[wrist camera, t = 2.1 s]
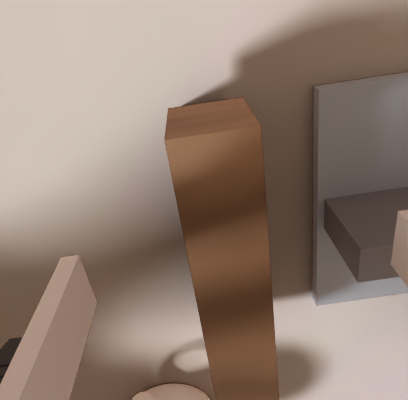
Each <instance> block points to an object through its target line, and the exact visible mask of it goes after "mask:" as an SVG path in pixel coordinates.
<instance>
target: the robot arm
mask: <svg viewBox="0 0 408 400" xmlns="http://www.w3.org/2000/svg"><path fill="white" fill-rule="evenodd" d="M391 266H392V267H393V268H394V270H395V271H396V272H397V274H398V275H399V276H400V278H401V279H402V280H403V282H404V283H405V284H406V286H407V287H408V210H402V211H398V214H397V222H396V229H395V236H394V243H393V250H392V258H391ZM96 306H97V301H96V298H95V295H94V293H93V290H92V288H91V285H90V282H89V280H88V277H87V274H86V272H85V269H84V266H83V264H82V261H81V258H80V256H79V255H73V256H66V257H61V258H60V260H59V262H58V264H57V267H56V269H55V271H54V273H53V275H52V277H51V279H50V281H49V283H48V285H47V287H46V290H45V292H44V294H43V296H42V298H41V300H40V302H39V304H38V306H37V308H36V311H35V313H34V315H33V317H32V319H31V321H30V323H29V325H28V327H27V329H26V331H25V334H24V336H23V337H20V338H13V339H9V340H8V341H7V342H6V344H5V345H4V346H3V347H2V348H1V349H0V400H70V396H71V393H72V389H73V386H74V382H75V379H76V376H77V372H78V369H79V365H80V362H81V358H82V355H83V351H84V348H85V344H86V341H87V338H88V334H89V331H90V327H91V324H92V320H93V317H94V313H95V310H96Z"/></svg>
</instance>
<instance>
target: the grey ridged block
mask: <svg viewBox="0 0 408 400" xmlns="http://www.w3.org/2000/svg"><path fill="white" fill-rule="evenodd" d="M402 210H408V72H403V73H397V74H390V75H384V76H377V77H370V78H364V79H357V80H351V81H344V82H338V83H331V84H324V85H318V86H314V135H313V299H314V301H315V304H316V306H318V305H325V304H332V303H339V302H346V301H353V300H360V299H367V298H374V297H381V296H388V295H395V294H402V293H408V287H407V286H406V284H405V283H404V282H403V280H402V279H401V278H400V276H399V275H398V274H397V272H396V271H395V270H394V268H393V267H392V266H391V258H392V250H393V243H394V236H395V229H396V222H397V214H398V211H402Z"/></svg>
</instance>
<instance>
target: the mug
mask: <svg viewBox="0 0 408 400" xmlns="http://www.w3.org/2000/svg"><path fill="white" fill-rule="evenodd" d="M132 400H210V399H209V397H208V396H207V395H206V394H205V393H204V392H202V391H201V390H199V389H197V388H195V387H193V386H190V385H185V384H176V383H173V384H163V385H159V386H155V387H153V388H150V389H149V390H147V391H145V392H139V393H137V394H136V395H135V396H134V397H133V398H132Z"/></svg>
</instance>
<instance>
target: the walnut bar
mask: <svg viewBox="0 0 408 400" xmlns="http://www.w3.org/2000/svg"><path fill="white" fill-rule="evenodd" d="M165 145H166V150H167V155H168V160H169V165H170V170H171V175H172V180H173V185H174V190H175V195H176V200H177V205H178V210H179V215H180V220H181V225H182V230H183V236H184V241H185V246H186V251H187V256H188V261H189V266H190V271H191V276H192V281H193V286H194V291H195V296H196V301H197V306H198V311H199V316H200V321H201V326H202V331H203V336H204V341H205V346H206V351H207V356H208V361H209V366H210V371H211V376H212V381H213V386H214V392H215V397H216V400H279V391H278V376H277V361H276V345H275V330H274V315H273V299H272V284H271V268H270V253H269V238H268V222H267V207H266V192H265V176H264V161H263V145H262V130H261V125H260V123H259V121H258V120H257V118H256V117H255V115H254V113H253V112H252V110H251V109H250V107H249V105H248V104H247V102H246V101H245V99H244V97H240V98H234V99H227V100H221V101H214V102H207V103H201V104H194V105H188V106H181V107H175V108H168V115H167V124H166V132H165Z"/></svg>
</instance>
